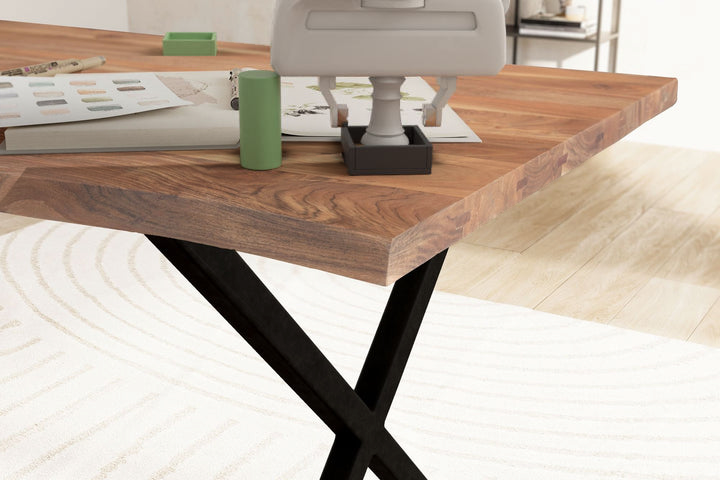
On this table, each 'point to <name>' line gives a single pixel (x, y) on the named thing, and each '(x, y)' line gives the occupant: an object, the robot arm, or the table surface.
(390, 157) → the dark tray
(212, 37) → the green tray
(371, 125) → the rook chess piece
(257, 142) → the green peg
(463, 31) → the robot arm
